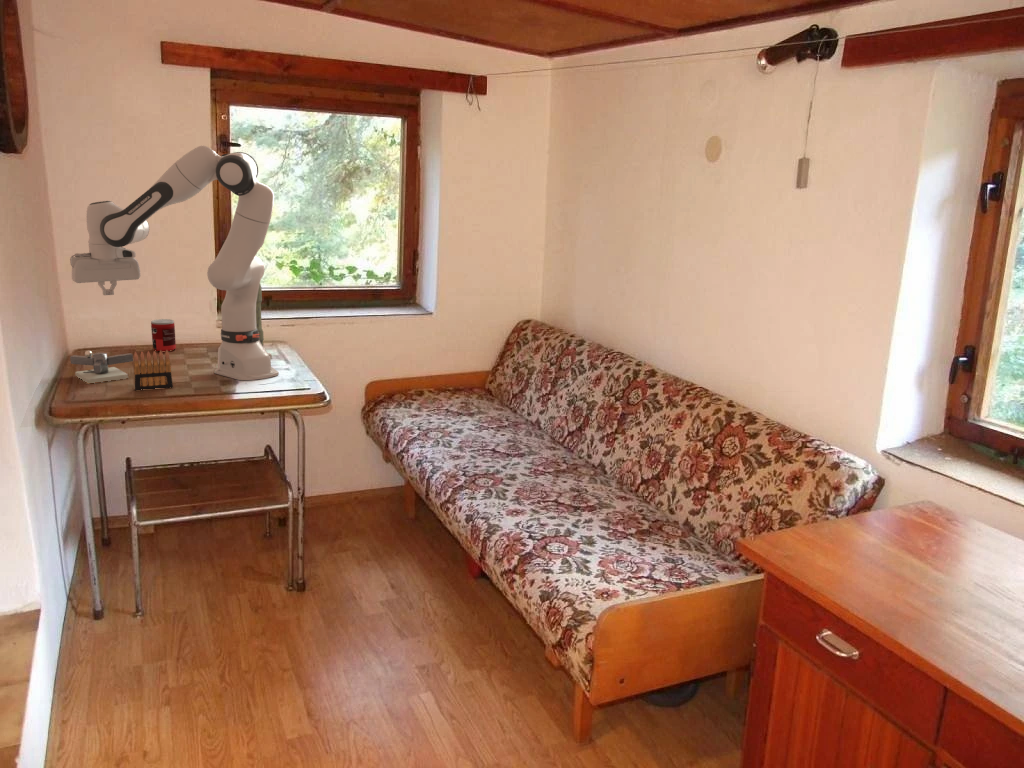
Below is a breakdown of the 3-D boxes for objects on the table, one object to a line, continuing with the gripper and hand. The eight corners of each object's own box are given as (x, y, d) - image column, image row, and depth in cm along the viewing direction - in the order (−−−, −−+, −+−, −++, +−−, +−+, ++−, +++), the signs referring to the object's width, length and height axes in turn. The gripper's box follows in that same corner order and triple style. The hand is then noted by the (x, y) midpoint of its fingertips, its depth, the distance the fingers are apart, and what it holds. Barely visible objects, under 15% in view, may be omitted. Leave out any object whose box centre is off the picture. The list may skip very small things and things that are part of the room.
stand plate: (128, 378, 261) (127, 373, 260) (88, 384, 252) (87, 379, 252) (115, 371, 269) (114, 366, 268) (75, 376, 261) (75, 371, 260)
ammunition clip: (172, 386, 254) (169, 349, 251) (173, 387, 253) (170, 350, 250) (134, 389, 249) (131, 351, 246) (135, 390, 248) (132, 352, 245)
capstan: (135, 367, 268) (133, 347, 266) (99, 380, 251) (97, 359, 249) (92, 363, 270) (90, 343, 269) (53, 376, 253) (51, 355, 251)
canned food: (156, 347, 304) (154, 318, 301) (178, 348, 305) (176, 319, 302) (150, 352, 297) (147, 322, 294) (172, 352, 298) (170, 323, 295)
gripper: (72, 254, 253) (77, 298, 256) (140, 252, 266) (143, 293, 270) (66, 252, 257) (70, 296, 260) (133, 250, 271) (136, 291, 274)
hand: (108, 294), depth 265 cm, fingers closed
